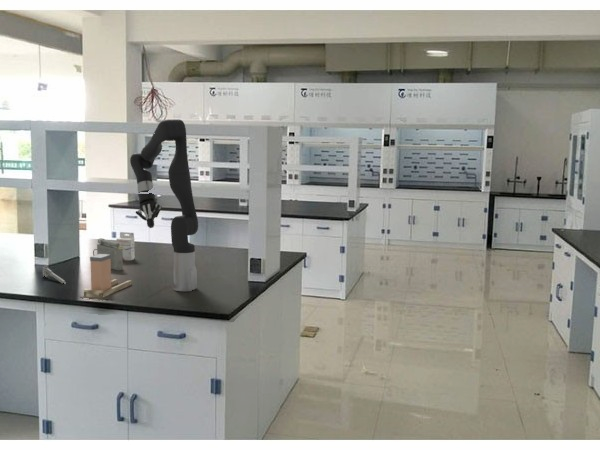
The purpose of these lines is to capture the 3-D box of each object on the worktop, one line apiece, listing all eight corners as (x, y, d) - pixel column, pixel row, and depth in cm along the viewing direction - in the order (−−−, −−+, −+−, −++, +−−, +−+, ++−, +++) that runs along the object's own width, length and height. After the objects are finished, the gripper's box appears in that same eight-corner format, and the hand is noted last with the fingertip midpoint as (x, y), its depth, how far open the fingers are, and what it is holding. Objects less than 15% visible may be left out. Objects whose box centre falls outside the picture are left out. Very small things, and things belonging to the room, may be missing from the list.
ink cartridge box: (116, 260, 327) (115, 233, 325) (119, 258, 332) (119, 231, 330) (131, 260, 326) (131, 233, 324) (135, 258, 331) (134, 232, 329)
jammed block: (111, 291, 257) (110, 254, 255) (102, 295, 250) (101, 257, 248) (100, 290, 258) (99, 253, 256) (91, 294, 251) (90, 256, 249)
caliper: (42, 277, 286) (42, 264, 285) (45, 276, 287) (44, 264, 286) (64, 284, 273) (64, 271, 272) (66, 284, 274) (66, 270, 273)
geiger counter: (124, 242, 303) (98, 236, 320) (113, 243, 298) (87, 237, 315) (125, 269, 305) (99, 261, 321) (113, 271, 300) (88, 263, 317)
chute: (135, 287, 270) (135, 278, 269) (105, 301, 247) (105, 291, 246) (111, 285, 272) (111, 276, 272) (79, 298, 249) (79, 289, 249)
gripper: (129, 194, 277) (134, 229, 272) (155, 186, 275) (160, 221, 269) (137, 199, 284) (142, 233, 279) (162, 191, 282) (168, 225, 276)
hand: (151, 227), depth 274 cm, fingers closed
